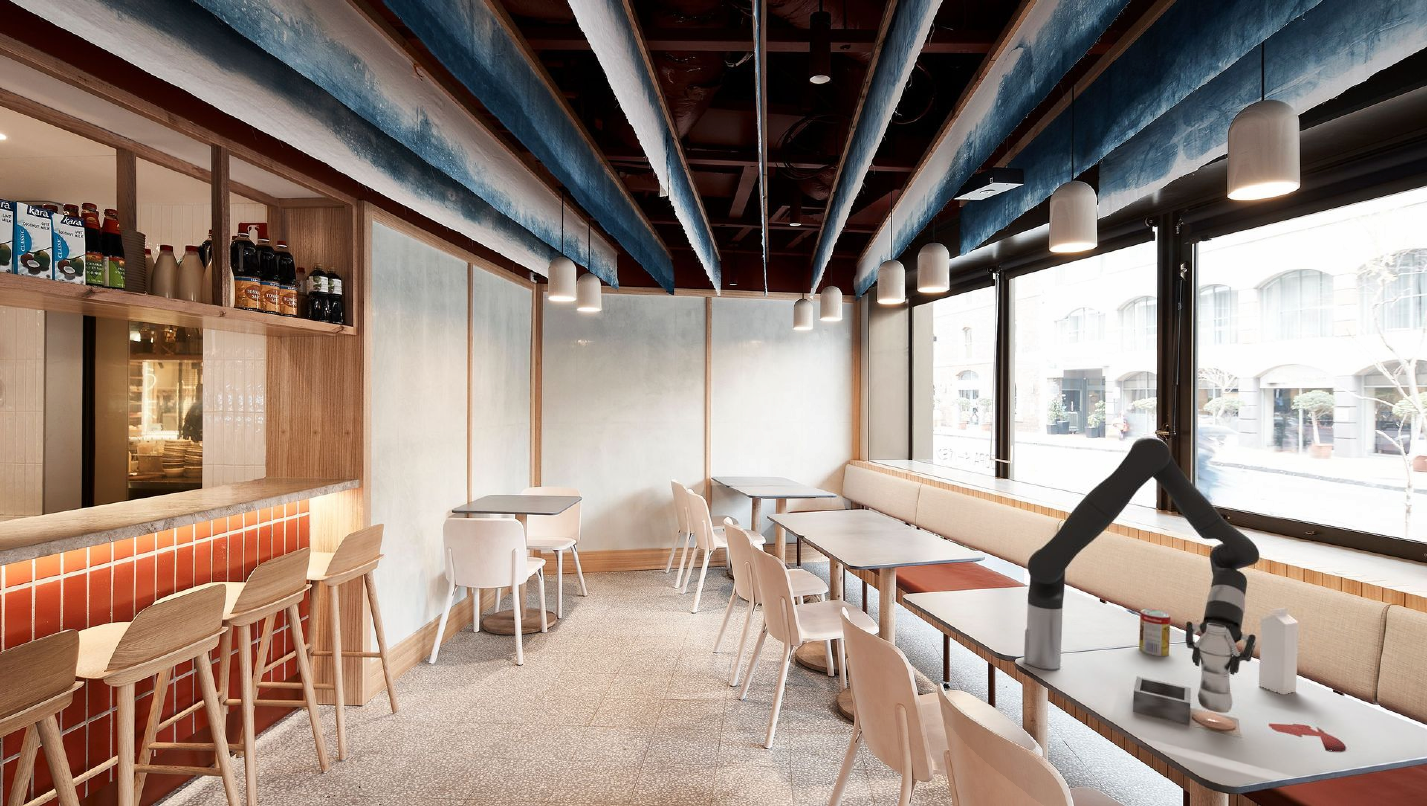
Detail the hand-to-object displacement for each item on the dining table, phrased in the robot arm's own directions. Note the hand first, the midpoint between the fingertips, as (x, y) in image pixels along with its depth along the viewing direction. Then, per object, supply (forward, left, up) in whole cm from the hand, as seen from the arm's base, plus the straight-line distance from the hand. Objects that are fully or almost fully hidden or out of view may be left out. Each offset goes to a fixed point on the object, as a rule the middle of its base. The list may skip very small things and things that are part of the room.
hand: (1214, 668), depth 165 cm
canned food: (-14, +56, -15) cm, 59 cm away
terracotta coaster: (0, +2, -13) cm, 13 cm away
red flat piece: (+16, +9, -15) cm, 24 cm away
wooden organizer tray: (-5, +2, -15) cm, 16 cm away
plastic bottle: (0, +2, -11) cm, 11 cm away
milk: (+15, +43, -15) cm, 48 cm away
